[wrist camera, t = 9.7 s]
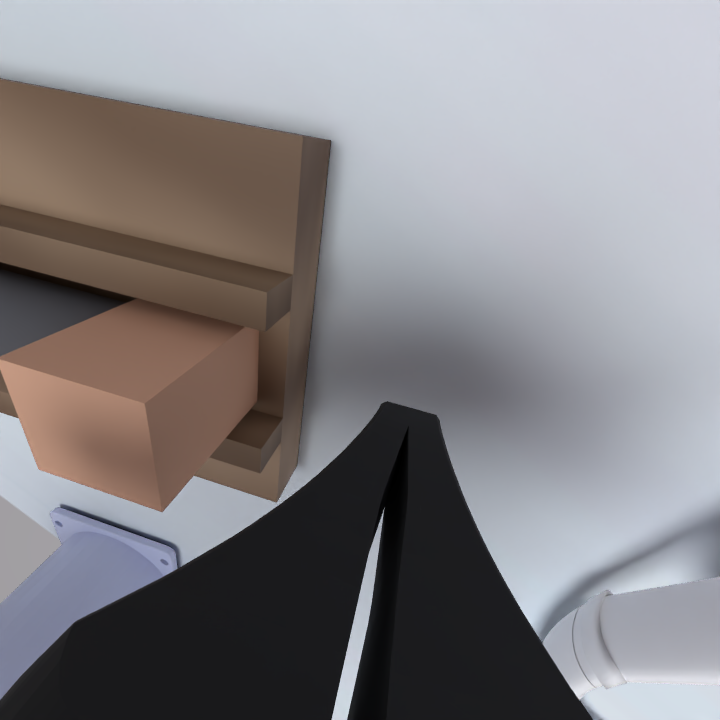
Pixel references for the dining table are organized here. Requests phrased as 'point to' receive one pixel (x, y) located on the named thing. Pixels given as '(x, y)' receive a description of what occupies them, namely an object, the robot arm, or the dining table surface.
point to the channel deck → (175, 237)
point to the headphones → (641, 638)
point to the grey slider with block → (122, 386)
